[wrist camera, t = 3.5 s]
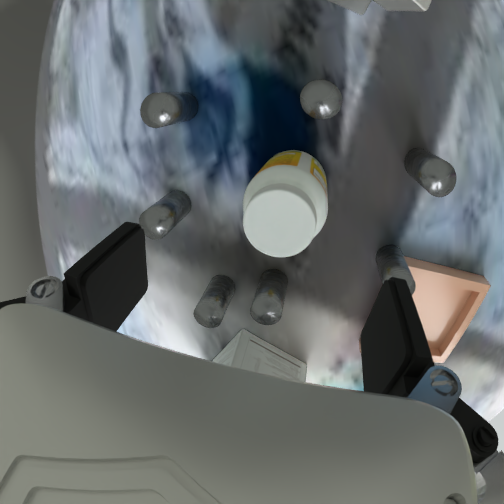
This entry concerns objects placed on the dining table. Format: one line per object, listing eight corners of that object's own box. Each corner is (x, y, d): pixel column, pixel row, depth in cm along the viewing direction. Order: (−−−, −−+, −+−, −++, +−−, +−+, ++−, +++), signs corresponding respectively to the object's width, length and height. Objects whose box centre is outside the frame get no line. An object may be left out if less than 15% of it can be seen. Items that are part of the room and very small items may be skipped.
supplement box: (206, 363, 38) (159, 475, 23) (242, 325, 33) (193, 462, 19) (267, 396, 39) (240, 506, 24) (310, 364, 34) (292, 497, 20)
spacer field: (443, 119, 19) (470, 126, 15) (372, 327, 30) (377, 361, 26) (174, 69, 22) (144, 66, 18) (166, 282, 32) (145, 309, 28)
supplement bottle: (337, 168, 23) (348, 207, 15) (307, 221, 26) (301, 283, 18) (277, 137, 23) (253, 159, 15) (251, 193, 26) (217, 243, 18)
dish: (484, 276, 24) (490, 285, 23) (440, 352, 30) (443, 363, 28) (395, 254, 26) (400, 264, 24) (358, 340, 31) (359, 352, 30)
